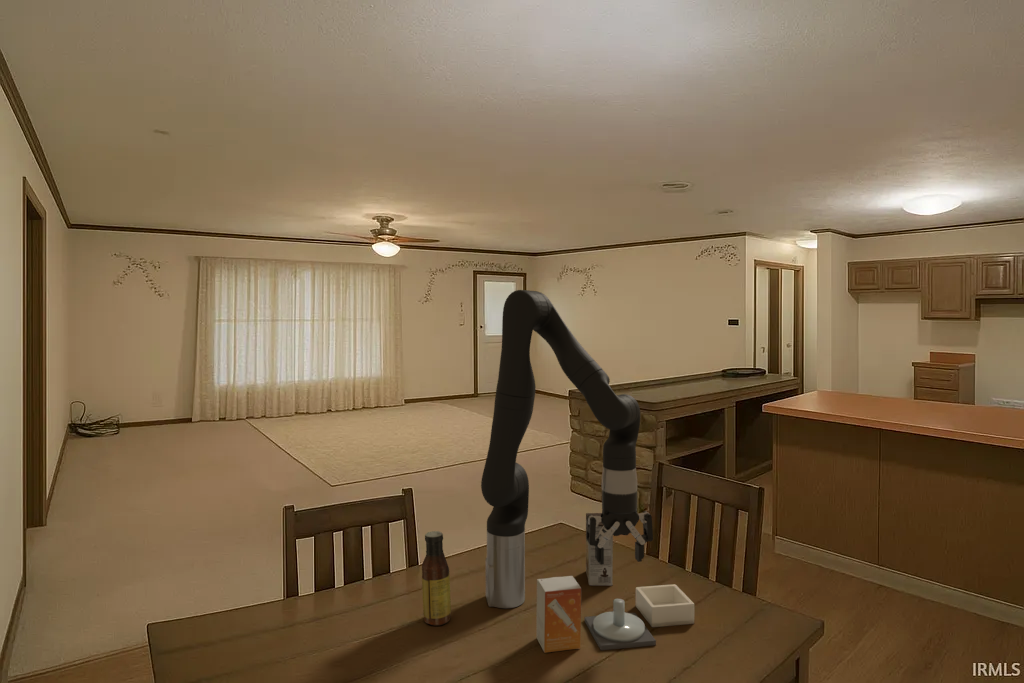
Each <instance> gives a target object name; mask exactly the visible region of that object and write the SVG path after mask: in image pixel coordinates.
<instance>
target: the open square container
mask: <svg viewBox="0 0 1024 683" xmlns="http://www.w3.org/2000/svg"><path fill="white" fill-rule="evenodd" d="M635 608H637V610H638V611H639V612H640V614H641V615H642V616H643V618H644V619H645V620H646V621H647V623H648V624H649V625H650V627H651V628H659V627H660V628H662V627H671V626H680V625H681V626H682V625H683V626H684V625H694V624H695V603H694V602H693V601H692V600H691V599H690V597H689V596H688V595H686V593H685V592H684V591H683V590H682V589H681V588H680V587H679V586H678V585H677V584H662V585H661V584H660V585H648V586H637V587H635Z"/></svg>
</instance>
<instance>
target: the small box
mask: <svg viewBox="0 0 1024 683" xmlns="http://www.w3.org/2000/svg"><path fill="white" fill-rule="evenodd" d="M536 639H537V641H538V643H539V645H540V647H541V649H542V651H543V653H545V654H548V653H551V652H552V653H553V652H560V651H568V650H580V649H581V646H582V645H581V644H582V643H581V641H582V587H581V586H580V584H579V582H577V580H576V578H575V577H574V576H573V575H566V576H552V577H547V578H546V577H545V578H537V579H536Z"/></svg>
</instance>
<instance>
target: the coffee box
mask: <svg viewBox="0 0 1024 683" xmlns="http://www.w3.org/2000/svg"><path fill="white" fill-rule="evenodd" d="M589 514H591V515H592V516H601V514H602V512H594V513H593V512H592V513H591V512H590V513H589V512H587V513H585V536H586V535H587V517H588V515H589ZM603 526H604V525H603V524H602V522H599V524H598V526H597V527H596V533H595V538H596V537H597V536H598V534H599V532H600V530H601V528H602V527H603ZM603 548H604V564H602V565H600V564H599V562H597V560H596V558H595V546H591V545H590V544H589V543H588V541H587V540H586V539H585V572H586V573H585V574H586V576H587V581H588V582H587V583H588V585H589V586H613V584H614V583H613V581H614V579H613V576H614V575H613V572H614V571H613V570H614V569H613V566H614V565H613V563H614V562H613V561H614V560H613V559H614V556H613V554H614V535H612V536H611V537H610V539H609V540H607V541H606V543H605V544H604V545H603Z"/></svg>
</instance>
